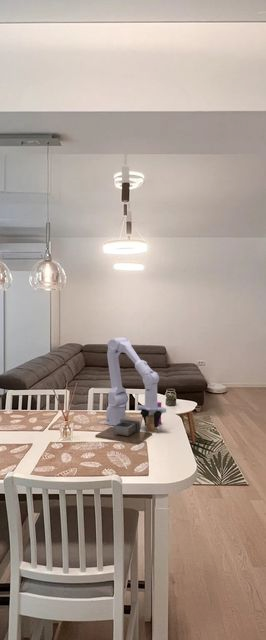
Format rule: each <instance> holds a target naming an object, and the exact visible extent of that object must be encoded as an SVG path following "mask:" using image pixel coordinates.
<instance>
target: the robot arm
mask: <svg viewBox="0 0 266 640" xmlns="http://www.w3.org/2000/svg"><path fill="white" fill-rule="evenodd" d="M106 352H107V353H106V356H107V357H106V358H107V364H108V371H109V379H110V385H111V389H110V390H109V391H108V398H107V402H108V403H107V404H108V406H107V407H106V411H105V417H106V418H105V421H106V422H105V425H109V426H114V425H116V424H118V423H120V419H126V406H127V403H128V402H129V395H128V393H127V391H126V388H125V387H123V383H122V376H121V375H122V374H121V368H120V359H119V356H120V355H121V353H124V354H126V356H127V357H128V358H129V359H130V360H131V361H132V362H133V364H134V368H135V370H136V371H137V373H139V375H140V377H142V382H143V385H144V390H145V391H144V393H145V394H144V395H145V396H144V397H145V398H144V399H145V403H144V404H138V405H137V406H136V410H137V411H140V415H141V416H142V419H143V421H144V426H145V427H146V416H148V415H149V411H155V413H154V419H155V427H157V428H158V427H159V425H158V423H159V419H160V417H161V418H162V414H166V413H167V408H166V407H162V406H161V407H158V406H157V402H158V383H159V382H160V376H159V373H158V372H157V371H154V370H153V369H152V368H151V367H150V366H149V365H148V361H146V360H143V359H141V358H140V357H139V356H138V354H137V352H136V351H135V349H134V348H133V346H132V344H131V342H130V340H129V339H128V338H127V336H122V337H111V338H110V339H109V340H108V342H107V351H106Z"/></svg>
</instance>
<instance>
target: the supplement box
mask: <svg viewBox="0 0 266 640" xmlns="http://www.w3.org/2000/svg"><path fill="white" fill-rule="evenodd" d="M157 406H158V407H162V402H161V401H157ZM154 413H155V411H149V415H154ZM160 425H162V416H161V417H160V419H159V423H158V426H160Z"/></svg>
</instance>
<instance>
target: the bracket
mask: <svg viewBox="0 0 266 640" xmlns="http://www.w3.org/2000/svg"><path fill="white" fill-rule="evenodd" d="M140 426H141V424H140V420H134V419H128V418H125V419H120V423H118V424H116V425H113V426H110V427H108V428H105V429H104V430H103V431H101V432H99V433H96V434H95V435H94V436H95V438H99V439H102V440H103V439H104V440H110V441H115V442H122V443H125V444H127V443H128V444H134V445H140V444H141V443H142V442H143V443H144V441H145V440H147V439H148V438H150V437H151V436H153V432H147V431H141V427H140Z"/></svg>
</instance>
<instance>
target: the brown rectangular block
mask: <svg viewBox="0 0 266 640" xmlns="http://www.w3.org/2000/svg"><path fill="white" fill-rule="evenodd" d="M157 431H158V427H155V419H154V415H148V416H146V426H145V432H149V433H155V432H157Z"/></svg>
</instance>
